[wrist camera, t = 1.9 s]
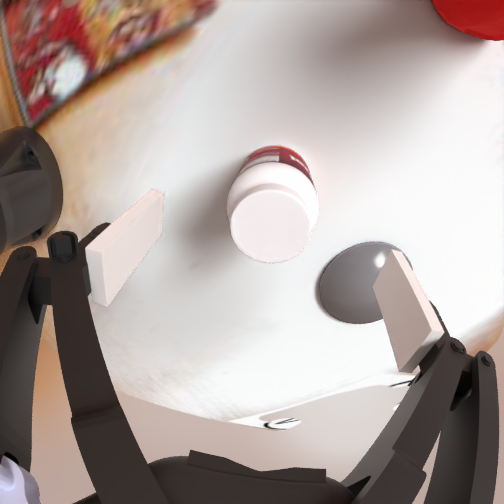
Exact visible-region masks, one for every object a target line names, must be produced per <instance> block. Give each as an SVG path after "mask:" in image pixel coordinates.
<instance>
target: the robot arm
mask: <svg viewBox="0 0 504 504" xmlns="http://www.w3.org/2000/svg"><path fill="white" fill-rule="evenodd" d="M164 198H165V192H164V191H160V190H155V189H152V190H151V191H150V192H148V193H147V194H146V195H145V196H143V197H142V198H141V199H140V200H139V201H137V202H136V203H135V204H134V205H133V206H131V207H130V208H129V209H128V210H127V211H126V212H124V213H123V214H122V215H121V216H120V217H119V218H117V219H116V220H115V221H114V222H113V223H112V224H111V223H107V222H106V223H103V224H101V225H99V226H97V227H96V228H95V229H93V230H92V231H91V232H90V233H89V234H88V235H87V236H86V237H84V238H83V239H82V240H81V241H80V242H79V243H78V237H77V235H76V234H75V233H73V232H71V231H60V232H56V233H54V234H52V235H51V236H50V237H49V238H48V240H47V246H48V252H49V257H50V258H43V257H37V252H36V250H35V248H33V247H31V246H22V247H19V248H17V249H16V250H14V251H13V252H12V254H11V255H10V257H9V259H8V261H7V263H6V265H5V267H4V269H3V271H2V274H1V276H0V504H41V503H40V500H39V496H40V494H39V488H38V485H37V482H36V481H35V478H34V477H33V476H32V475H31V474H30V465H31V449H32V437H31V436H32V434H31V433H32V404H33V390H34V380H35V370H36V363H37V355H38V349H39V343H40V337H41V332H42V326H43V321H44V317H45V312H46V307H47V305H52V307H53V317H54V326H55V333H56V340H57V347H58V353H59V359H60V364H61V369H62V374H63V379H64V384H65V388H66V392H67V396H68V400H69V404H70V408H71V412H72V418H71V424H72V427H73V431H74V434H75V438H76V441H77V444H78V447H79V449H80V452H81V455H82V458H83V461H84V463H85V466H86V468H87V471H88V474H89V476H90V478H91V481H92V483H93V486H94V488H95V490H96V493H94V494H92V495H90V496H88V497H86V498H84V499H82V500H79V501H77V502H75V503H73V504H412V502H413V501H414V499H415V497H416V496H417V494H418V492H419V490H420V489H421V487H422V485H423V483H424V481H425V479H426V473H425V472H424V471H423V470H422V469H423V466H424V465H425V463H426V461H427V459H428V457H429V455H430V453H431V450H432V449H433V446H434V444H435V442H436V440H437V438H438V435H439V433H440V431H441V433H440V439H439V445H438V450H437V455H436V459H435V464H434V468H433V472H432V476H431V480H430V484H429V487H428V491H427V494H426V498H425V501H424V504H493V498H494V491H495V485H496V476H497V466H498V451H499V450H498V449H499V405H498V389H497V378H496V370H495V363H494V361H493V359H492V357H491V356H490V355H489V354H488V353H486V352H484V351H479V352H478V353H477V354H476V356H475V357H472V356H470V355H468V354H466V349H465V347H464V345H463V344H462V343H461V342H460V341H459V340H457V339H456V338H452V337H450V335H449V333H448V331H447V329H446V327H445V325H444V323H443V321H442V319H441V317H440V316H439V313H438V311H437V309H436V307H435V306H434V305H433V304H432V303H431V301H430V300H428V298H427V296H426V294H425V292H424V290H423V288H422V287H421V285H420V283H419V281H418V279H417V278H416V276H415V274H414V272H413V270H412V269H411V267H410V265H409V263H408V262H407V260H406V258H405V257H404V255H403V253H402V252H400V251H396V250H393V249H391V250H390V253H389V255H388V257H387V259H386V261H385V263H384V265H383V267H382V269H381V271H380V273H379V275H378V277H377V279H376V281H375V283H374V284H373V286H372V287H373V289H374V292H375V295H376V298H377V301H378V304H379V307H380V310H381V313H382V316H383V319H384V322H385V325H386V329H387V332H388V335H389V338H390V342H391V345H392V349H393V352H394V356H395V359H396V363H397V366H398V370H399V372H406V373H412V372H413V371H414V369H415V368H416V367H417V366H418V365H419V367H420V370H421V371H420V372H419V373H418V374H417V376H416V377H415V378H414V379H413V380H412V381H411V382H410V383H409V384H408V386H410V385H411V386H410V388H409V390H408V391H407V393H406V395H405V397H404V398H403V400H402V401H401V403H400V405H399V406H398V408H397V410H396V411H395V413H394V415H393V416H392V417H391V419H390V421H389V422H388V423H387V425H386V426H385V428H384V429H383V431H382V432H381V434H380V435H379V437H378V438H377V439H376V441H375V442H374V444H373V445H372V446H371V448H370V449H369V451H368V452H367V453H366V454H365V456H364V457H363V458H362V459H361V461H360V462H359V463H358V465H357V466H356V467H355V468H354V469H353V471H352V472H351V473H350V474H349V475H348V476H347V477H346V478H345V479H344V480H343V481H342V482H338V481H336V480H334V479H331V478H329V477H326V469H312V468H297V467H296V468H295V467H294V468H288V469H280V470H272V471H256V470H254V469H251V468H249V467H246V466H244V465H241V464H239V463H236V462H234V461H232V460H229V459H227V458H224V457H219V456H215V455H210V454H205V453H201V452H197V451H193V450H190V453H189V456H174V457H168V458H163V459H160V460H156V461H154V462H151V463H149V464H147V462H146V460H145V458H144V456H143V454H142V452H141V450H140V448H139V446H138V443H137V442H136V439H135V437H134V435H133V433H132V430H131V428H130V426H129V423H128V421H127V419H126V417H125V414H124V412H123V409H122V407H121V405H120V403H119V401H118V398H117V395H116V393H115V390H114V387H113V384H112V382H111V379H110V376H109V373H108V370H107V367H106V364H105V361H104V358H103V354H102V351H101V348H100V344H99V341H98V337H97V334H96V330H95V326H94V322H93V318H92V314H91V310H90V306H89V302H88V297H87V296H88V295H89V294H90V293H91V294H92V300H93V302H94V303H97V304H100V305H102V306H105V307H108V306H109V304H110V303H111V302H112V300H113V299H114V297H115V296H116V295H117V293H118V292H119V290H120V289H121V288H122V286H123V285H124V283H125V282H126V281H127V279H128V278H129V277H130V275H131V274H132V273H133V271H134V270H135V269H136V267H137V266H138V265H139V263H140V262H141V261H142V259H143V258H144V257H145V255H146V254H147V253H148V252H149V250H150V249H151V248H152V246H153V245H154V244H155V243H156V241H157V240H158V239H159V238H160V236H161V235H162V221H163V209H164ZM62 202H63V189H62V180H61V175H60V171H59V167H58V164H57V161H56V159H55V156H54V154H53V152H52V150H51V149H50V147H49V145H48V144H47V142H46V141H45V140H44V139H43V137H42V136H41V135H40V134H38V133H37V132H36V131H34V130H33V129H31V128H28V127H23V126H20V127H15V128H12V129H9V130H6V131H4V132H2V133H0V254H1V253H2V252H4V251H5V250H8V249H11V248H14V247H17V246H21V245H24V244H27V243H30V242H34V241H36V240H38V239H40V238H41V237H43V236H44V235H45V234H46V233H48V232H49V231H50V230H51V229H52V228H53V227H54V226H55V225H56V223H57V221H58V219H59V217H60V213H61V209H62Z"/></svg>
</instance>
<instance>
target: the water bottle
mask: <svg viewBox="0 0 504 504" xmlns="http://www.w3.org/2000/svg"><path fill="white" fill-rule="evenodd" d="M432 2H433V4H434V6H435V8H436V10H437V12H438V13H439V15H440V16H441V17H442V18H443V19H444V20H445V22H446V23H448V24H449V25H451V26H453V27H455V28H456V29H458V30H460V31H461V32H464V33H467V34H470V35H474V36H476V37H479V38H482V39H486V40H493V41H500V40H504V0H432Z"/></svg>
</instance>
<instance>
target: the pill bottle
mask: <svg viewBox="0 0 504 504" xmlns="http://www.w3.org/2000/svg"><path fill="white" fill-rule="evenodd" d="M226 206H227V215H228V219H229V222H230V231H231V235H232V238H233V241H234V242H235V244H236V246H237V247H238V248H239V249H240V250H241V251H242V252H243V253H244V254H245V255H247V256H248V257H250V258H252V259H254V260H257V261H260V262H264V263H279V262H283V261H287V260H289V259H291V258H293V257H295V256H296V255H298V254H299V253H300V252H301V251H302V250H303V249H304V248H305V246H306V245H307V243H308V241H309V238H310V235H311V232H312V230H313V229H314V227H315V225H316V222H317V219H318V215H319V201H318V196H317V192H316V189H315V187H314V184H313V181H312V178H311V175H310V172H309V169H308V166H307V164H306V162H305V161H304V160H303V158H302V157H301V156H300V155H299V154H298V153H297V152H295V151H294V150H292V149H290V148H287V147H284V146H279V145H271V146H266V147H263V148H260V149H258V150H256V151H255V152H254V153H252V154H251V155H250V156H249V157H248V158H247V160H246V161H245V163H244V165H243V166H242V168H241V170H240V172H239V174H238V175H237V177H236V179H235V181H234V182H233V184H232V186H231V189H230V191H229V194H228V198H227V205H226Z"/></svg>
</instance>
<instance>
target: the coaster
mask: <svg viewBox="0 0 504 504" xmlns="http://www.w3.org/2000/svg"><path fill="white" fill-rule="evenodd" d="M391 249H393V250H396V251H400V252H402V251H401V250H400V249H399V248H397V247H395V246H393V245H391V244H388V243H384V242H365V243H361V244H357V245H355V246H352V247H350V248H348V249H346V250H344V251H343V252H341V253H340V254H338V255H337V256H336V257H335V258H334V259H333V260H332V261H331V262H330V263H329V265H328V266H327V267H326V269H325V271H324V273H323V275H322V278H321V281H320V296H321V301H322V304H323V306H324V308H325V309H326V310H327V312H328V313H329V314H330V315H332V316H333V317H334V318H336V319H338V320H340V321H343V322H346V323H351V324H366V323H371V322H375V321H378V320H380V319H383V316H382V313H381V310H380V307H379V304H378V301H377V298H376V295H375V292H374V289H373V287H372V286H373V284H374V283H375V281H376V279H377V277H378V275H379V273H380V271H381V269H382V267H383V265H384V263H385V261H386V259H387V257H388V255H389V253H390V250H391ZM402 253H403V252H402ZM403 255H404V257H405V258H406V260H407V262H408V263H409V265H410V267H411V269H412V266H411V263H410V261H409V260H408V258H407V256H406V255H405V254H404V253H403ZM412 270H413V269H412Z"/></svg>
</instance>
